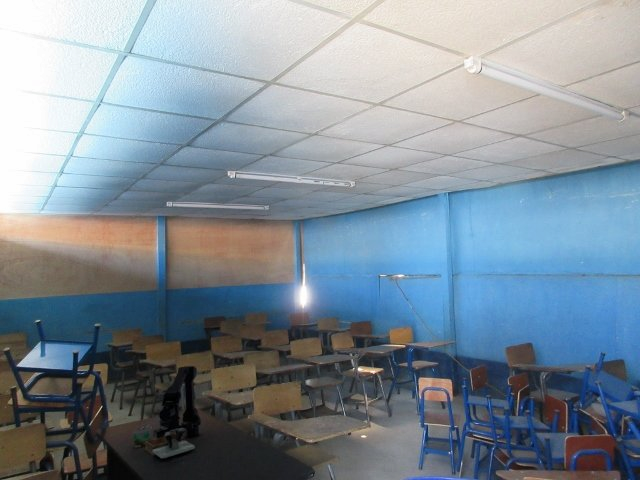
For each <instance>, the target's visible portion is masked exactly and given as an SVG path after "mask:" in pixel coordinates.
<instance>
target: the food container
mask: <svg viewBox="0 0 640 480" xmlns="http://www.w3.org/2000/svg"><path fill="white" fill-rule="evenodd" d="M152 429H153V427H152V425H151V423H149V422H148V423H147V422H146V423H145V425H144V426H140V427H139V428H138V429H133V431H132V435H133V441H134V448H135V449H136V448H137V449H138V448H143V447H144V448H145V441H148V440H151V433H152V431H151V430H152Z"/></svg>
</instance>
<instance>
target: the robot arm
mask: <svg viewBox="0 0 640 480" xmlns="http://www.w3.org/2000/svg"><path fill="white" fill-rule="evenodd" d="M197 373H198V369H197V367H196V366H195V365H188V366H180V367H178V368H177V373H176V375H175V378H174V380H173V382H172V384H171V386H168V388H167V389H166V391H165V393H164V395H163V398H162V404H161V406H162V409H161V411H160V412H159V414H158V416H159V419H160V420H159V427H160V428H157V429H154V430H153V432H152V436H153V437H154V438H155V439H156V438H160V437H165V438H166V439H167V442H168V444H169V447H170V448H171V446H172V436H171V435H170V434H171V433H173V432H175V434H176V440H178V441H180V439H181V437H183V434H184V433H185V435H184V437H186V438H188V439H193V438H197V437H199V436H200V432H199V430H200V429H199V428H200V427H199V426H201V425H202V424H201V423H202V419H201V418H200V414H199V411H198V409H197V407H195V405H196V404H195V384H194V381H195V380H196V377H197ZM183 383H184V390H185V410H184V412H183V413H182V422H181V424H180V420H181V417H180V406H179V405H180V401H181V400H182V392H181V389H182V387H183ZM162 427H163V428H162Z"/></svg>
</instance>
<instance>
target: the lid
mask: <svg viewBox="0 0 640 480" xmlns="http://www.w3.org/2000/svg"><path fill="white" fill-rule="evenodd" d="M195 448H196V446H195V445H194V444H193V443H190V442H188V441H187V440H183V441H181V442H179V441H178V440H176V439H172V446H171V448H170V447H169V444H168V446H164V447H161V448H157V449H154V450H153V453H154V454H156V455H155V456H157V457H159V458H160V459H166V458H167V459H168V458H169V457H172V456H176V455H179V454H183V453H186V452H189V451H190V450H193V449H195Z"/></svg>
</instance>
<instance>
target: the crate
mask: <svg viewBox="0 0 640 480" xmlns="http://www.w3.org/2000/svg"><path fill="white" fill-rule="evenodd" d="M170 435H171V436H172V439H176V432H175V433H170ZM181 441H184V437H183V436H182V437H181V439H180V441H179V442H181ZM164 446H168V442H167V439H166V438H165V437H160V438H156V437H155V438H153V439H150V440H148V441H145V446H144V449H145V451H146V452H147V453H149V454H150V455H151V456H157V455H156V454H154V453H153V450H154V449H157V448H161V447H164Z"/></svg>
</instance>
